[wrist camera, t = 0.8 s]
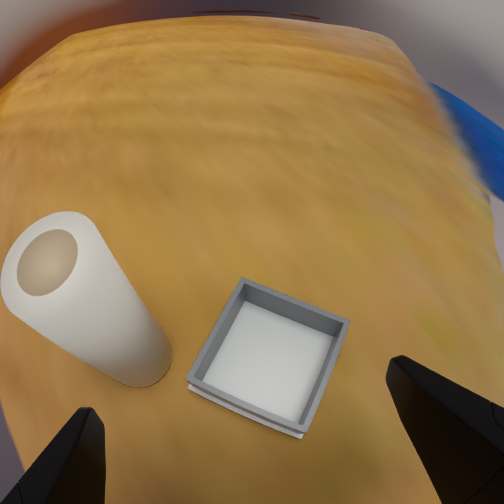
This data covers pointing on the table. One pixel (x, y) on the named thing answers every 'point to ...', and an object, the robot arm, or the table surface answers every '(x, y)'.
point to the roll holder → (269, 357)
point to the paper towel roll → (83, 300)
